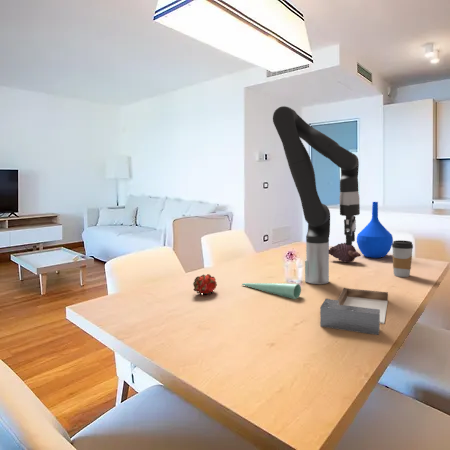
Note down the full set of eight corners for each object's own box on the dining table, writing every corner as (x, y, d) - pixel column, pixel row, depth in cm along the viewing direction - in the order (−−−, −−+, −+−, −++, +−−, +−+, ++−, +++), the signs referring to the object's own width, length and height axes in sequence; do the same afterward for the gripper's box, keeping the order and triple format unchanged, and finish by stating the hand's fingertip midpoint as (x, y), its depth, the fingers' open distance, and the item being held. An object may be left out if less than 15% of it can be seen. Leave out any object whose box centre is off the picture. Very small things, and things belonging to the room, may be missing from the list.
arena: (332, 316, 116) (332, 307, 115) (343, 295, 136) (343, 287, 135) (384, 323, 109) (384, 314, 109) (387, 300, 129) (387, 292, 129)
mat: (337, 317, 115) (337, 316, 115) (347, 297, 134) (347, 296, 134) (384, 323, 109) (384, 322, 109) (387, 301, 128) (387, 300, 128)
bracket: (320, 326, 108) (320, 307, 108) (325, 317, 116) (325, 298, 115) (378, 335, 101) (379, 314, 101) (380, 324, 108) (380, 305, 108)
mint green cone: (246, 272, 154) (301, 282, 136) (246, 284, 155) (301, 296, 137) (237, 274, 151) (293, 285, 132) (238, 287, 151) (293, 300, 133)
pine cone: (324, 261, 191) (324, 243, 190) (331, 258, 199) (331, 240, 198) (358, 265, 180) (358, 245, 179) (364, 261, 187) (365, 242, 186)
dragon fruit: (192, 301, 139) (213, 297, 149) (206, 291, 135) (227, 288, 144) (184, 281, 143) (205, 279, 152) (198, 271, 138) (218, 269, 147)
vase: (367, 251, 213) (368, 200, 210) (398, 255, 199) (400, 201, 195) (350, 256, 202) (350, 202, 198) (382, 261, 188) (383, 203, 184)
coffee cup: (394, 272, 166) (394, 239, 164) (414, 274, 161) (415, 241, 159) (388, 276, 160) (389, 242, 158) (409, 278, 155) (410, 244, 153)
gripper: (342, 202, 153) (343, 240, 155) (336, 204, 141) (338, 246, 143) (361, 201, 150) (362, 240, 152) (357, 204, 137) (358, 246, 139)
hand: (350, 243), depth 147 cm, fingers open, 8 cm apart
